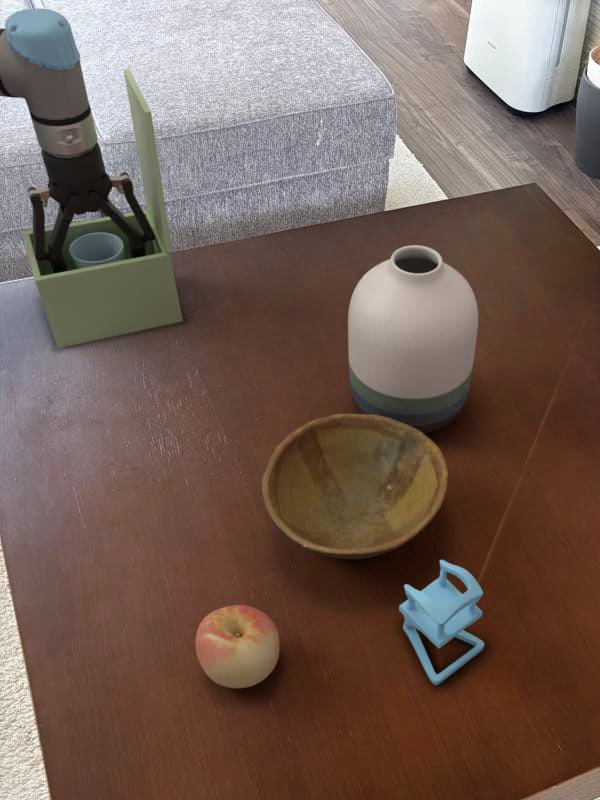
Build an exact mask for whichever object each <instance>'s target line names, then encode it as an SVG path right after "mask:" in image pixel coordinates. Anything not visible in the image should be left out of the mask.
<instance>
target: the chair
mask: <svg viewBox="0 0 600 800" xmlns="http://www.w3.org/2000/svg"><path fill="white" fill-rule="evenodd" d="M439 566H440V571H439V577H438V578H436V579H435V580H433V581H432V582H431V583H430V584H428V585H427V586H426V587H424V588H423V589H422V590H419V589H416V588H414V587H413V586H411V585H410V584H408V583H405V584H404V585H403V589H404V591H405V595H406V597H407V600H405V601H404V602H402V603H400V605H398V611H399V612H400V613H401V614H402V616H403V618H404V621H403V625H402V629H403V631H404V632H405V634H406V636H407V637H408V639H409V641H410V643H411V644H412V647H413V649H414V651H415V653H416V655H417V657H418V659H419V661H420V663H421V665H422V667H423V669H424V671H425V673H426V675H427V677H428V678H429V680H430V682H431V683H432V684H433V685H434V686H438V685H440V684H441V683H443V682H444V681H445V680H446V679H447V678H449V677H450V676H451V675H452V674H454V673H456V671H458V670H459V669H460V668H461V667H463V666H464V665H465V664H467V663H468V662H469V661H471V659H473V658H474V657H475V656H477V655H478V654H479V653H480V652H482V651H483V649H484V648H485V642H484V641H483V640H482V639H481V638H478V636H475V635H473V634H471V633H469V632H467V631H465V629H466V628H469V626H471V625H473V623H475V622H476V621H478V620H479V619H480V618H482V617H483V611H482V609H480V608H479V607H478V606H477V604H478V602H479V601H480V600H481V598H482V596H483V595H484V592H483V591H484V590H483V589H482V587H481V585H480V584H479V582H478V581H477V580H476V578H475V577H474V575H473V574H471V573H470V572H469V571H468V570H467V569H465V568H464V567H461V566H459V565H455V564H452V563H449V562H448V561H446V560H444V559H440V560H439ZM448 573H449V574H451V575H453V576H455V577H457V578H458V579H459V580H460V581H461V582H462V584H464V585H465V587H466V588H467V590H466V591H465V592H464V593H462V592H461V591H460V590H459V589H457V587H456V586H455V585H454V584H453V583H452V582H450V581H449V579H447V577H448V576H447V574H448ZM417 630H418V631H419V632H421V633H422V634H423V635H424V636H425V637H426V638H427V639H428V640H429V641H430V642H431V643H432V644H434V646H436V648H437V649H440V648H442V647H443V646H445V645H446V644H447V643H448V642H450V641H451V640H452V639H453V638H456V639H458V640H461V641H463V642H465V643H466V644H467V643H468V644H469V645H472V646H473V647H472V648H471V649H469V651H467V652H466V653H464V654H463V655H462V656H461V657H459V658H458V659H457V660H455V661H454V662H452V663H451V664H450V665H448V666H447V667H446V668H444V669H443V670H442V671H441V672H439V673H436V672H435V670H434V666H433V664H432V663H431V659H430V658H429V655H428V653H427V650H426V648H425V646H424V644H423V642H422V639H421V637H420V634H419V632H418V631H417Z"/></svg>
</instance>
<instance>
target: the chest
mask: <svg viewBox="0 0 600 800" xmlns="http://www.w3.org/2000/svg"><path fill="white" fill-rule="evenodd" d="M142 210H143V212H144V214H145V216H146V218H147V220H148V222H149V224H150V226H151V228H152V230H153V232H154V235H155V239H154V240H153V241H147V242H146V243H145V252H146V256H143V257H138V258H133V259H132V255H131V250H130V246H129V241H128V240H130V238H129V237H128V236H127V235H126V234H125V233H124V232H123V231H122V230H121V229H120V228H119V227H118V226H117V225H116V224H115V223H114V222H113V221H112V220H111V218H110V217H109V216H105V217H104V216H103V217H99V218H94V219H93V218H92V219H88V220H81V221H77V222H71V223H70V225H69V229H68V232H67V235H66V238H65V241H64V245H63V248H62V251H61V252H62V254H63V257H64V260H65V264H66V267H67V270H68V271H65V272H60V273H55V274H54V271H53V268H52V265H51V263H50V262H49V261H48V260H43V261H38V260H36V257H35V254H34V250H33V229H32V230H27V231H22V232H21V235H22V238H23V242H24V246H25V250H26V253H27V257H28V261H29V264H30V268H31V272H32V276H33V279H34V281H35V285H36V288H37V291H38V294H39V297H40V300H41V303H42V305H43V309H44V312H45V314H46V318H47V321H48V324H49V326H50V329H51V332H52V335H53V338H54V340H55V344H56V347H57V349H62V348H65V347H69V346H75V345H80V344H85V343H89V342H94V341H98V340H102V339H107V338H113V337H116V336H121V335H126V334H130V333H134V332H135V333H136V332H140V331H144V330H149V329H153V328H158V327H163V326H168V325H172V324H176V323H181V322H184V318H183V314H182V309H181V304H180V299H179V294H178V289H177V283H176V278H175V273H174V268H173V263H172V258H171V254H170V252H167V251H166V249H165V247H164V245H163V242H162V240H161V238H160V236H159V233H158V231H157V229H156V226H155V224H154V222H153V220H152V217H151V215H150V213H149V211H148V209H142ZM122 214H123V215H124V216H125V217H126V218H127V219H128V221H129V222H130V223H131V224H132V225H133V226H134V227H135V228H136V229H137V230H138V231H140V230H142V228H141V226H140V224H139V222H138V220H137V219H136V217H135V215H134V213H133V211H132V212H127V213H122ZM53 228H54V225H53V226H49V227H45V247H46V246H47V247H48V245H49V241H50V238H51V235H52V231H53ZM91 233H110V234H113V235H116V236H118V237H119V238H120V239H121V240H122V241H123V244H124V252H125V260H122V261H117V262H112V263H107V264H102V265H96V266H91V267H86V268H81V269H77V268H76V266H75V264H74V262H73V259H72V257H71V255H70V252H69V248H70V245H71V244H72V243H73V242H74V241H75V240H76V239H77V238H79V237H81V236H84V235H87V234H91Z"/></svg>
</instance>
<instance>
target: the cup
mask: <svg viewBox="0 0 600 800" xmlns="http://www.w3.org/2000/svg"><path fill="white" fill-rule="evenodd" d="M69 252H70V255H71V257H72V259H73V262H74V264H75V266H76V268H77V269H81V268H86V267H91V266H96V265H102V264H107V263H112V262H117V261H122V260H125V252H124V244H123V241H122V240H121V239H120V238H119V237H118V236H116V235H113V234H110V233H91V234H87V235H84V236H81V237H79V238H77V239H76V240H75V241H74V242H73V243H72V244H71V245H70V248H69Z"/></svg>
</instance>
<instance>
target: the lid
mask: <svg viewBox="0 0 600 800" xmlns="http://www.w3.org/2000/svg"><path fill="white" fill-rule="evenodd" d="M123 75H124V82H125V87H126V93H127V99H128V104H129V110H130V116H131V117H130V118H131V122H132V128H133V134H134V140H135V145H136V146H135V147H136V152H137V157H138V165H139V170H140V175H141V181H142V186H143V194H144V199H145V205H146V208H147V210H148V211H149V213H150V215H151V217H152V220H153V222H154V224H155V226H156V229H157V231H158V233H159V236H160V238H161V240H162V242H163V245H164V247H165V249H166V251H167V252H169V253H170V252H173V247H172V241H171V234H170V228H169V227H170V226H169V220H168V215H167V208H166V201H165V195H164V187H163V182H162V173H161V168H160V167H161V166H160V161H159V155H158V154H159V153H158V148H157V141H156V135H155V134H156V133H155V128H154V122H153V115H152V111H151V109H150V106H149V105H148V103H147V101H146V99H145V97H144V95H143V93H142V91H141V89H140V87H139V85H138V83H137V81H136V79H135V78H134V75H133V73H132V72H131V69H130V68H126V69H123Z"/></svg>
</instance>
